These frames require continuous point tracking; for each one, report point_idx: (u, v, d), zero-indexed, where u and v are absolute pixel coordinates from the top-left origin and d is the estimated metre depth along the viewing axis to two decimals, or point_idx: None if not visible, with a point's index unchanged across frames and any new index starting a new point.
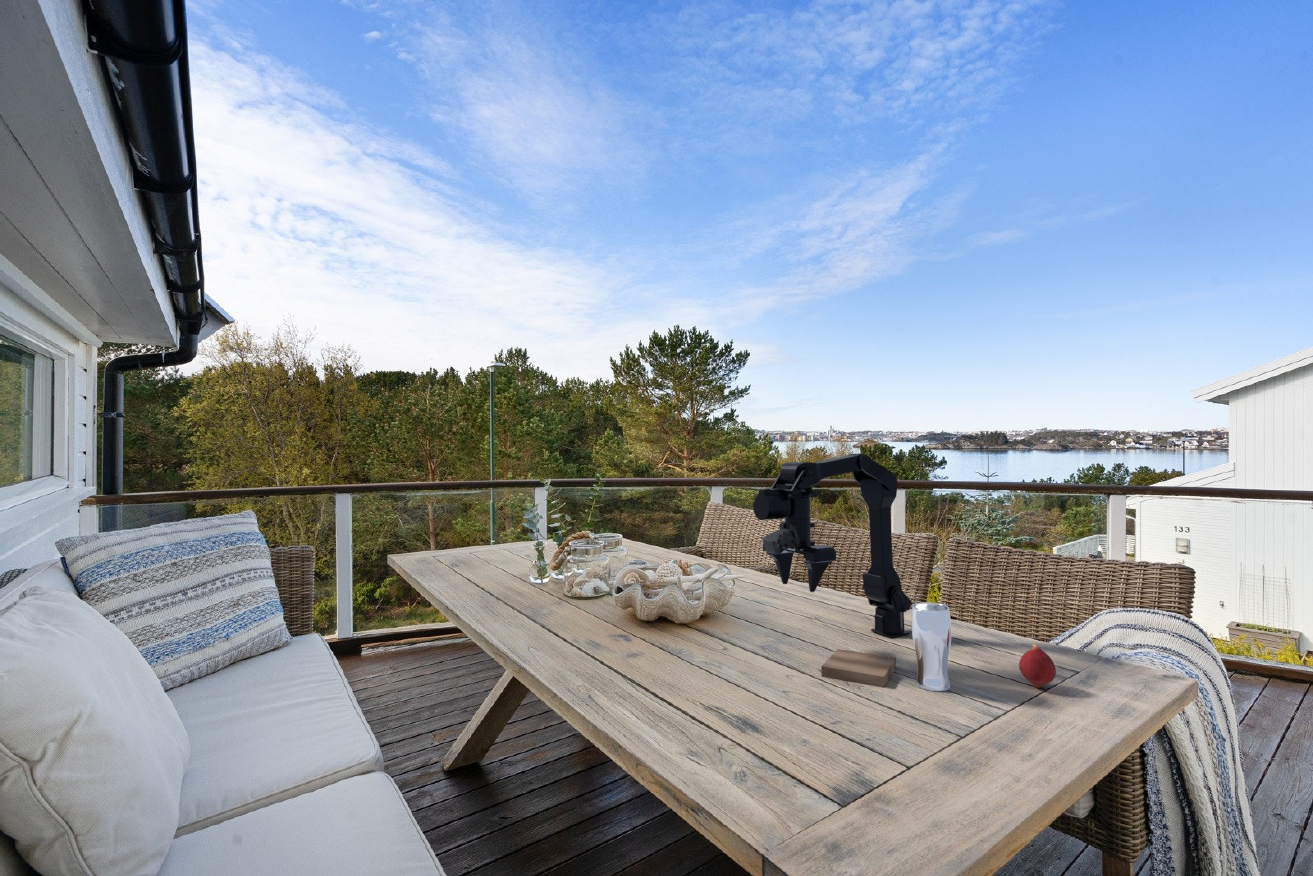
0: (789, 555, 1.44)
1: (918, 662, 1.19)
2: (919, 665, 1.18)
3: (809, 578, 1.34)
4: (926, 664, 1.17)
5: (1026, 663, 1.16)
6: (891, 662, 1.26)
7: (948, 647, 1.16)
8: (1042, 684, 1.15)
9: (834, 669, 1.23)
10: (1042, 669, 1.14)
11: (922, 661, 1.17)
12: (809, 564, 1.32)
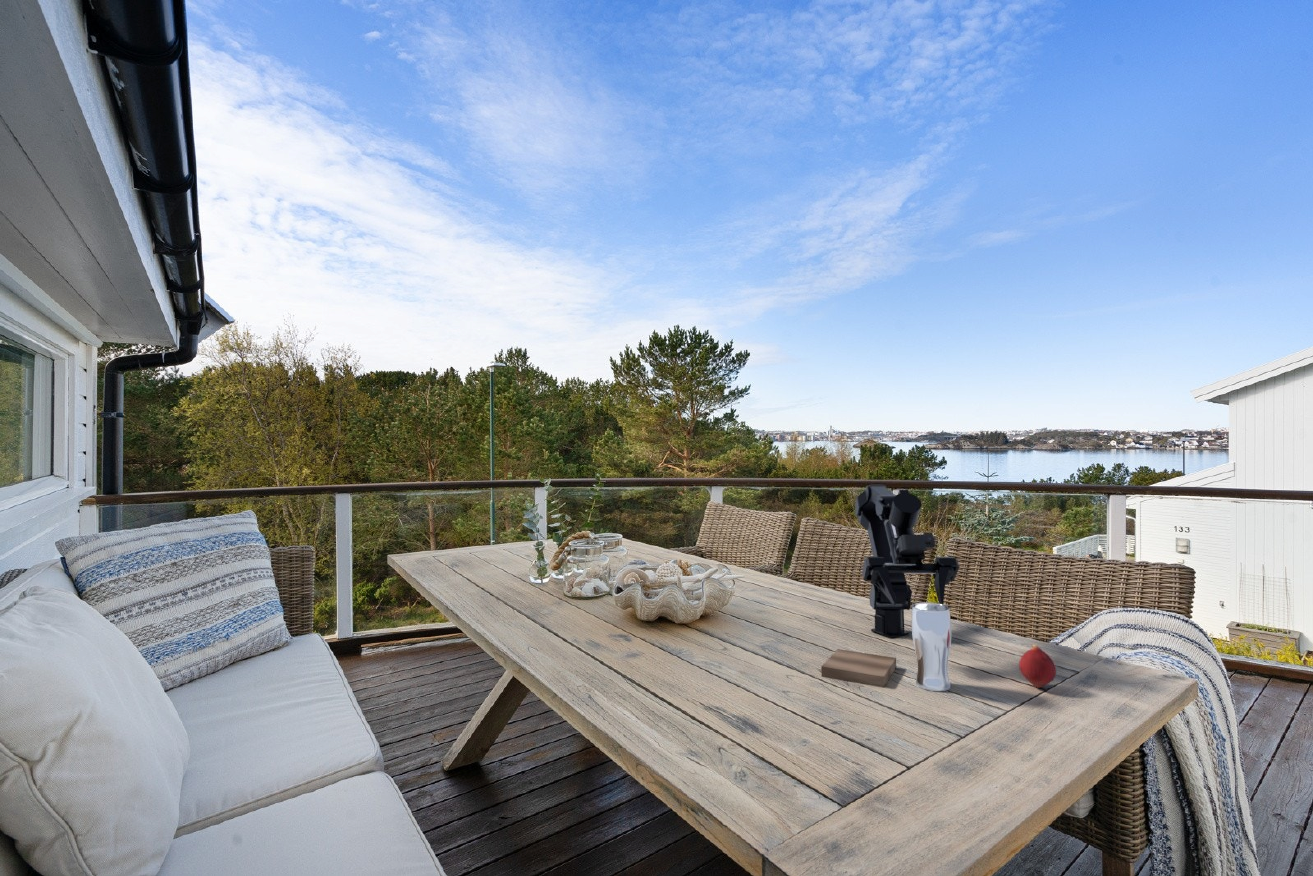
0: None
1: (918, 662, 1.19)
2: (919, 665, 1.18)
3: (941, 588, 1.27)
4: (926, 664, 1.17)
5: (1026, 663, 1.16)
6: (891, 662, 1.26)
7: (948, 647, 1.16)
8: (1042, 684, 1.15)
9: (834, 669, 1.23)
10: (1042, 669, 1.14)
11: (922, 661, 1.17)
12: (948, 569, 1.28)
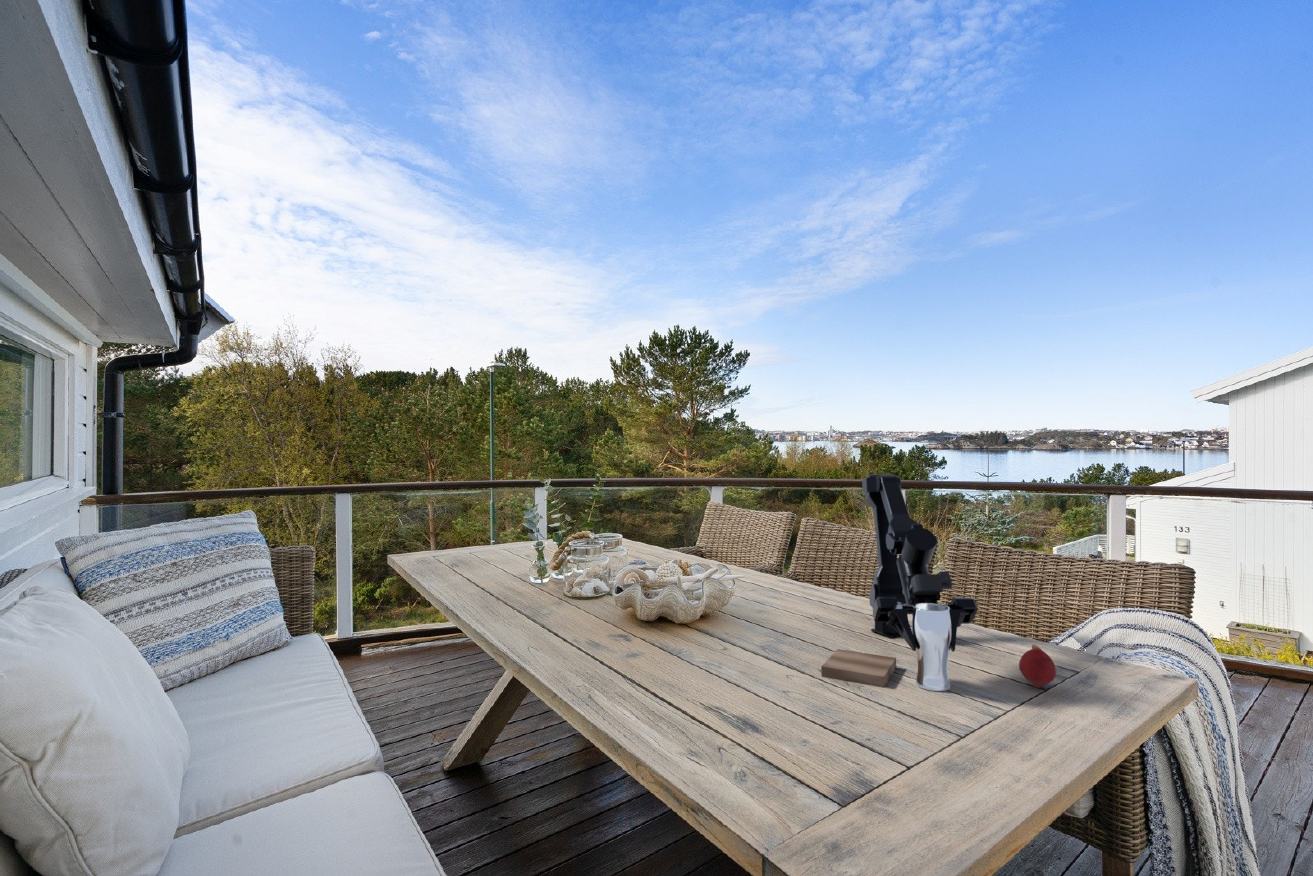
0: None
1: (918, 662, 1.19)
2: (919, 665, 1.18)
3: (952, 632, 1.18)
4: (926, 664, 1.17)
5: (1026, 663, 1.16)
6: (891, 662, 1.26)
7: (948, 647, 1.16)
8: (1042, 684, 1.15)
9: (834, 669, 1.23)
10: (1042, 669, 1.14)
11: (922, 661, 1.17)
12: (960, 612, 1.19)
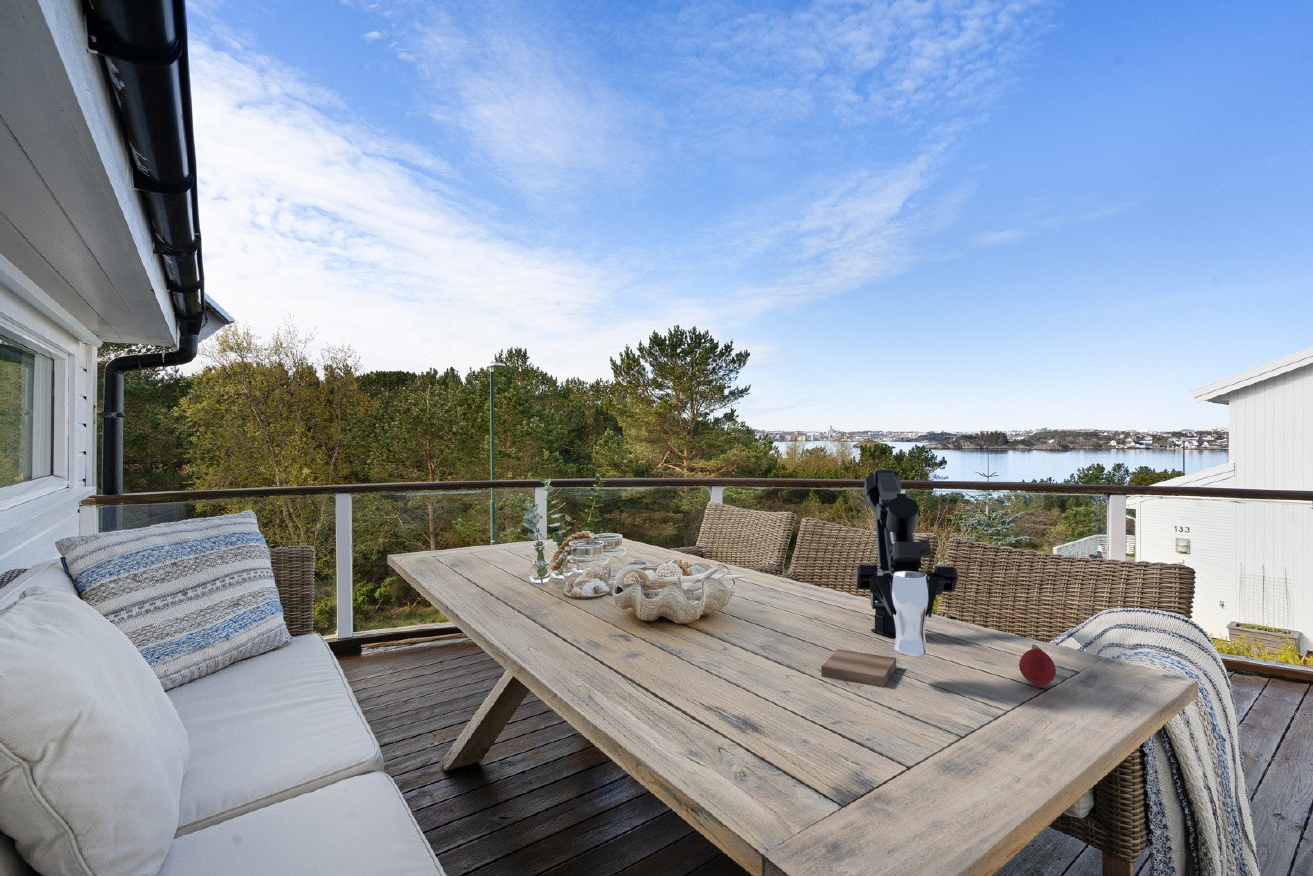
0: None
1: (896, 628, 1.21)
2: (897, 631, 1.20)
3: (930, 599, 1.20)
4: (902, 630, 1.19)
5: (1026, 663, 1.16)
6: (891, 662, 1.26)
7: (924, 613, 1.18)
8: (1042, 684, 1.15)
9: (834, 669, 1.23)
10: (1042, 669, 1.14)
11: (899, 627, 1.19)
12: (939, 579, 1.20)
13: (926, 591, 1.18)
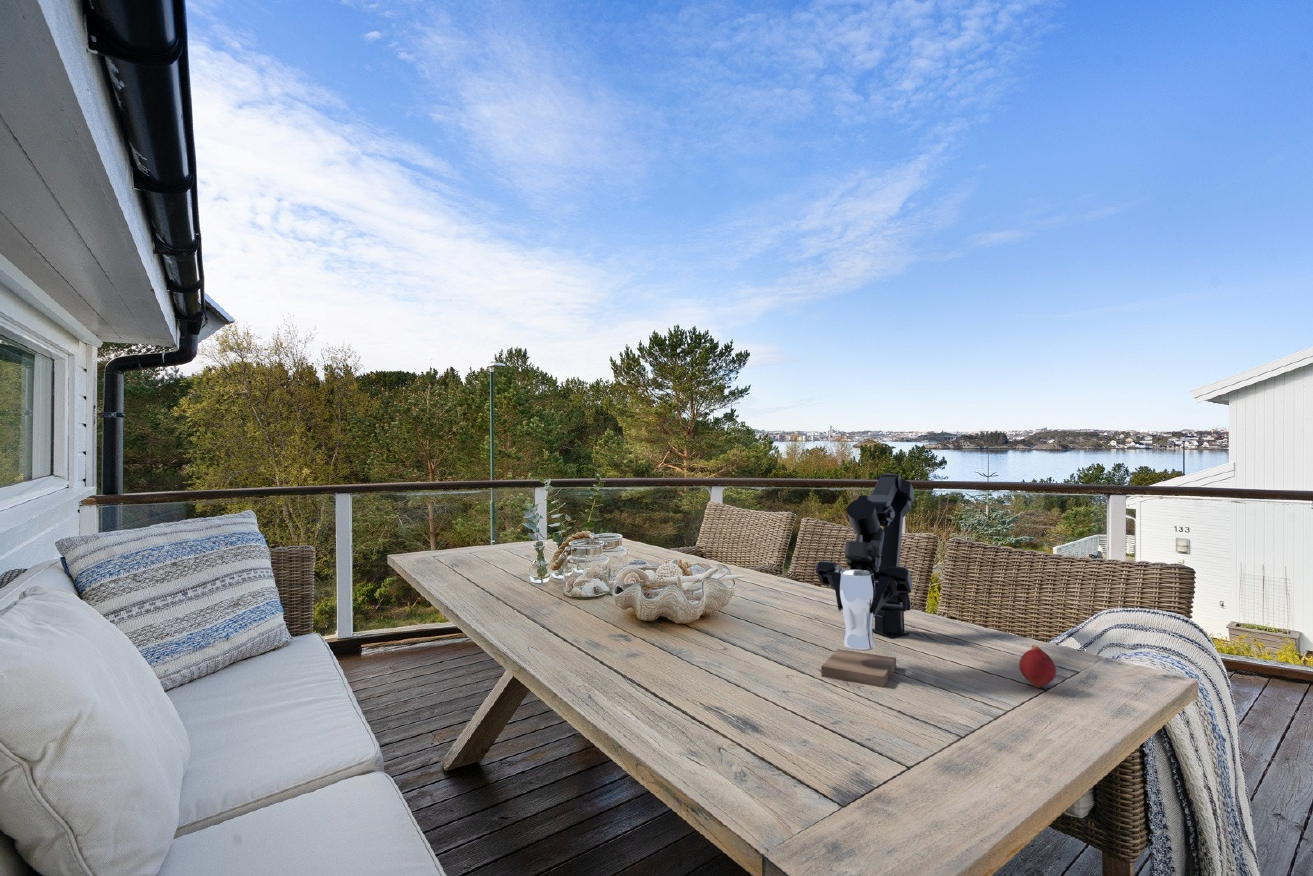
0: None
1: None
2: (845, 625, 1.27)
3: (877, 597, 1.25)
4: (847, 624, 1.26)
5: (1026, 663, 1.16)
6: (891, 662, 1.26)
7: (867, 610, 1.24)
8: (1042, 684, 1.15)
9: (834, 669, 1.23)
10: (1042, 669, 1.14)
11: (845, 622, 1.26)
12: (887, 579, 1.25)
13: (869, 589, 1.24)
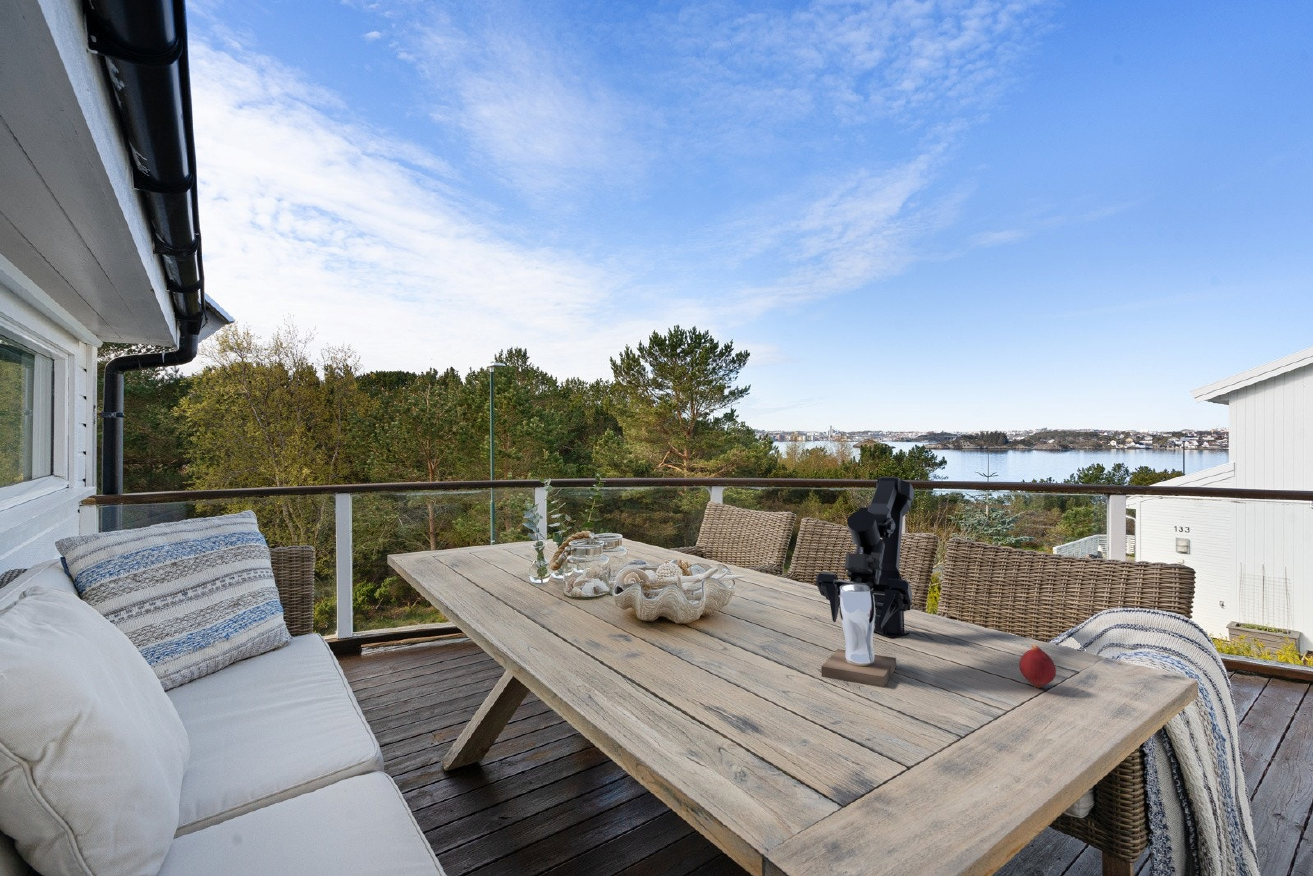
0: (838, 598, 1.33)
1: None
2: (845, 640, 1.27)
3: (883, 610, 1.24)
4: (847, 640, 1.26)
5: (1026, 663, 1.16)
6: (891, 662, 1.26)
7: (867, 626, 1.24)
8: (1042, 684, 1.15)
9: (834, 669, 1.23)
10: (1042, 669, 1.14)
11: (846, 637, 1.27)
12: (894, 592, 1.24)
13: (868, 605, 1.24)
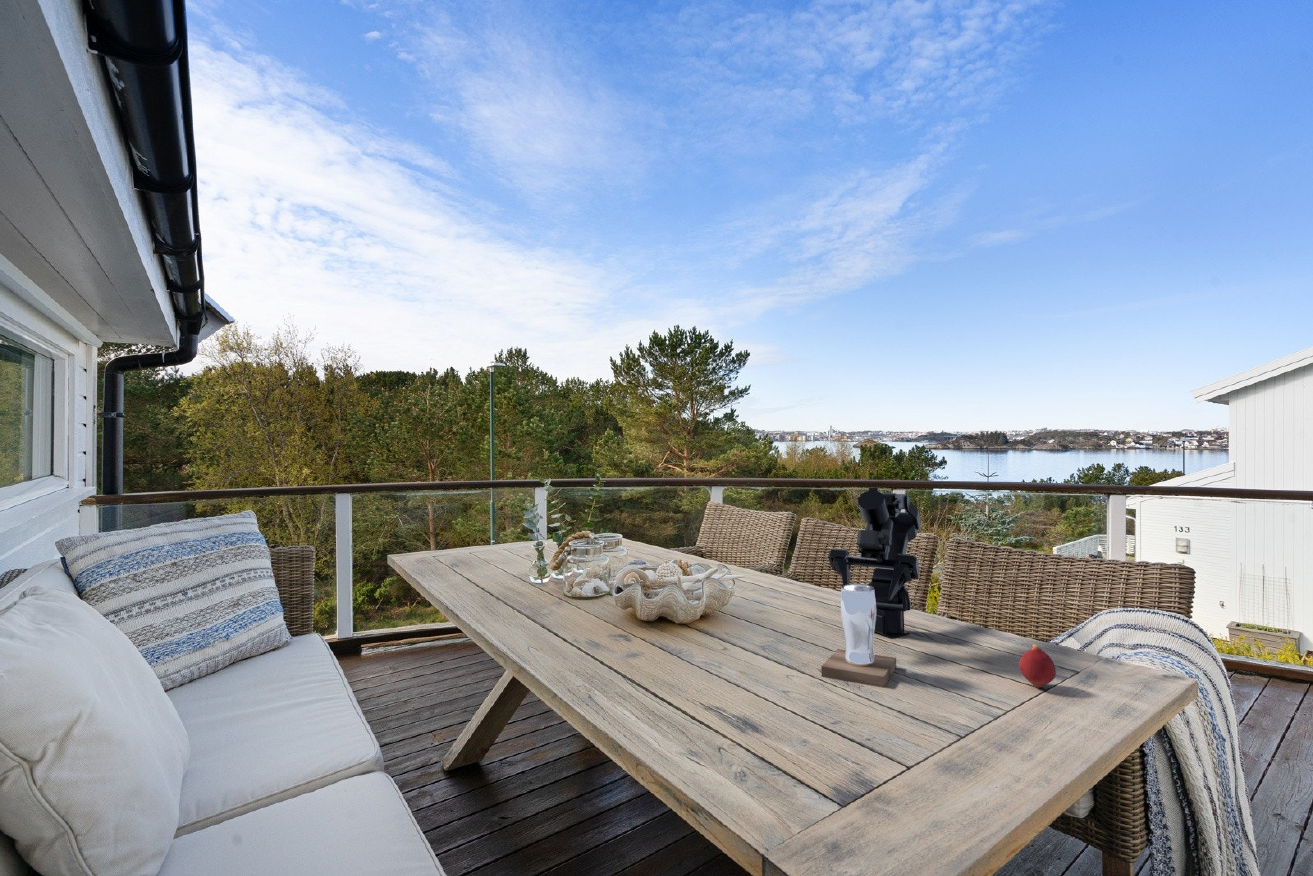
0: (849, 573, 1.41)
1: None
2: None
3: (892, 583, 1.32)
4: (848, 640, 1.26)
5: (1026, 663, 1.16)
6: (891, 662, 1.26)
7: (868, 626, 1.24)
8: (1042, 684, 1.15)
9: (834, 669, 1.23)
10: (1042, 669, 1.14)
11: (846, 637, 1.27)
12: (903, 566, 1.32)
13: (870, 605, 1.24)
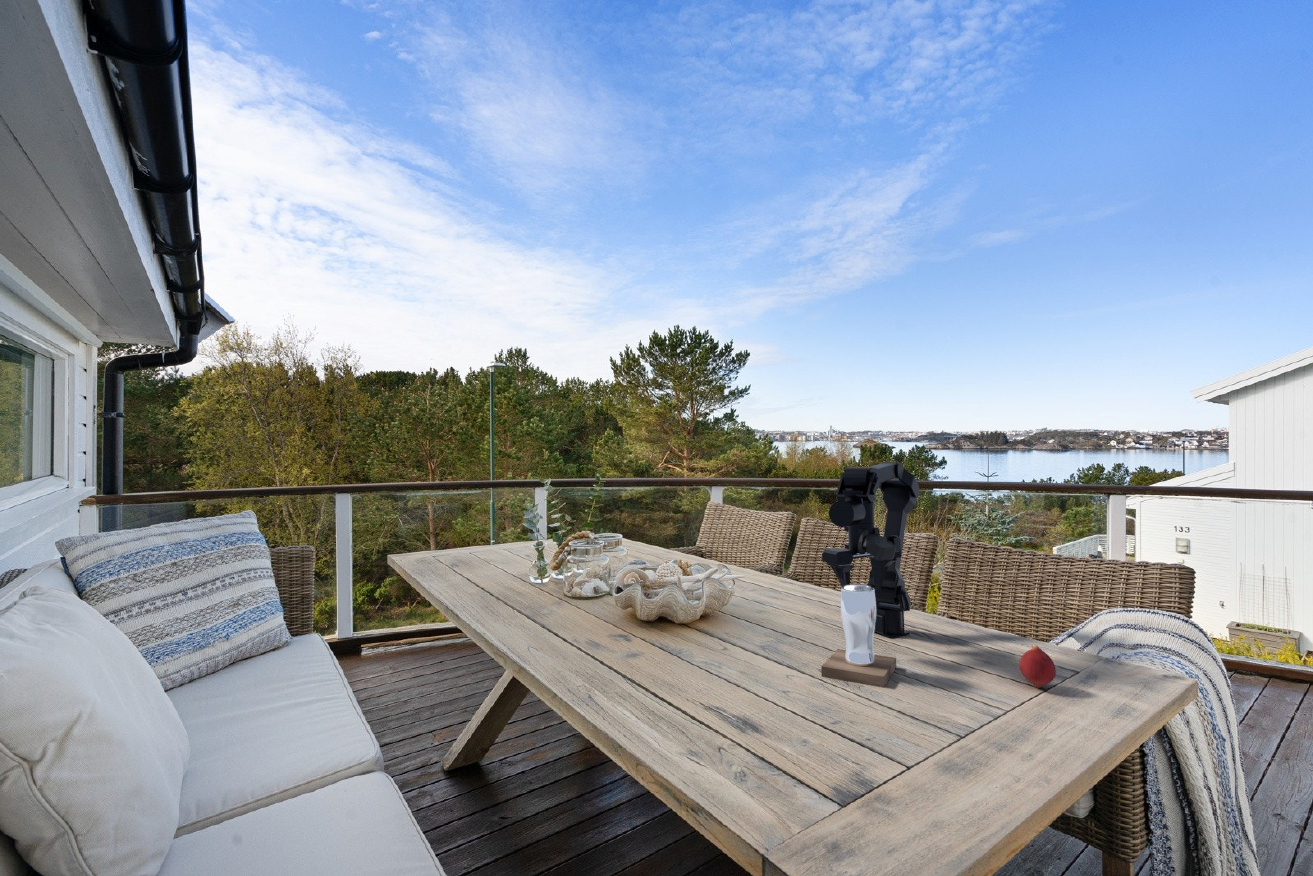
0: None
1: None
2: None
3: (882, 576, 1.41)
4: (848, 640, 1.26)
5: (1026, 663, 1.16)
6: (891, 662, 1.26)
7: (868, 626, 1.24)
8: (1042, 684, 1.15)
9: (834, 669, 1.23)
10: (1042, 669, 1.14)
11: (846, 637, 1.27)
12: (893, 561, 1.41)
13: (870, 605, 1.24)
